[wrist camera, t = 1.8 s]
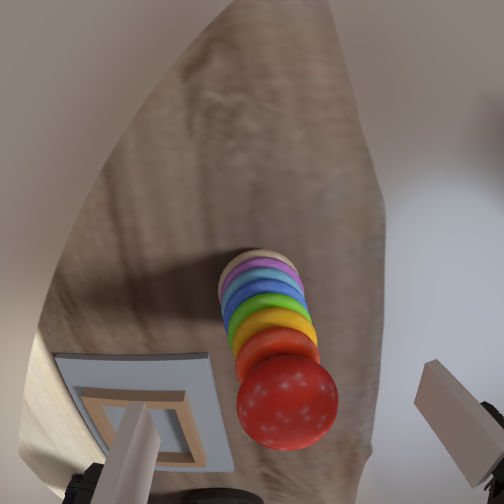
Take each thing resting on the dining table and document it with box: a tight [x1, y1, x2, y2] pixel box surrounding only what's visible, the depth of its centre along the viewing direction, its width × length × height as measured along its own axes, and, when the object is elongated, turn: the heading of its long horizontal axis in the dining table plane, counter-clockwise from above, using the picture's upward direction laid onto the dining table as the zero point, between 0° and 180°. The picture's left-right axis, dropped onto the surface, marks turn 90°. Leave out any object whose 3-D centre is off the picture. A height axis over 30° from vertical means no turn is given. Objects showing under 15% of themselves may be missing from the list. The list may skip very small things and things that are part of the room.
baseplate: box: [55, 353, 234, 472], centre depth 31 cm, size 22×20×3 cm
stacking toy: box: [218, 249, 338, 451], centre depth 20 cm, size 8×8×19 cm
